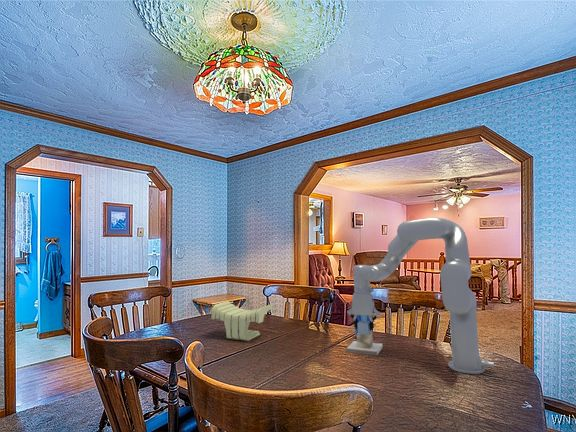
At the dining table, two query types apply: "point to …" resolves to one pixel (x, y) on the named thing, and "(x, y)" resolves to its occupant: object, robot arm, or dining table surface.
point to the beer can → (361, 318)
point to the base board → (365, 349)
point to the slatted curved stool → (239, 319)
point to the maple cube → (364, 340)
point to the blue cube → (363, 327)
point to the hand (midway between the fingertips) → (364, 329)
